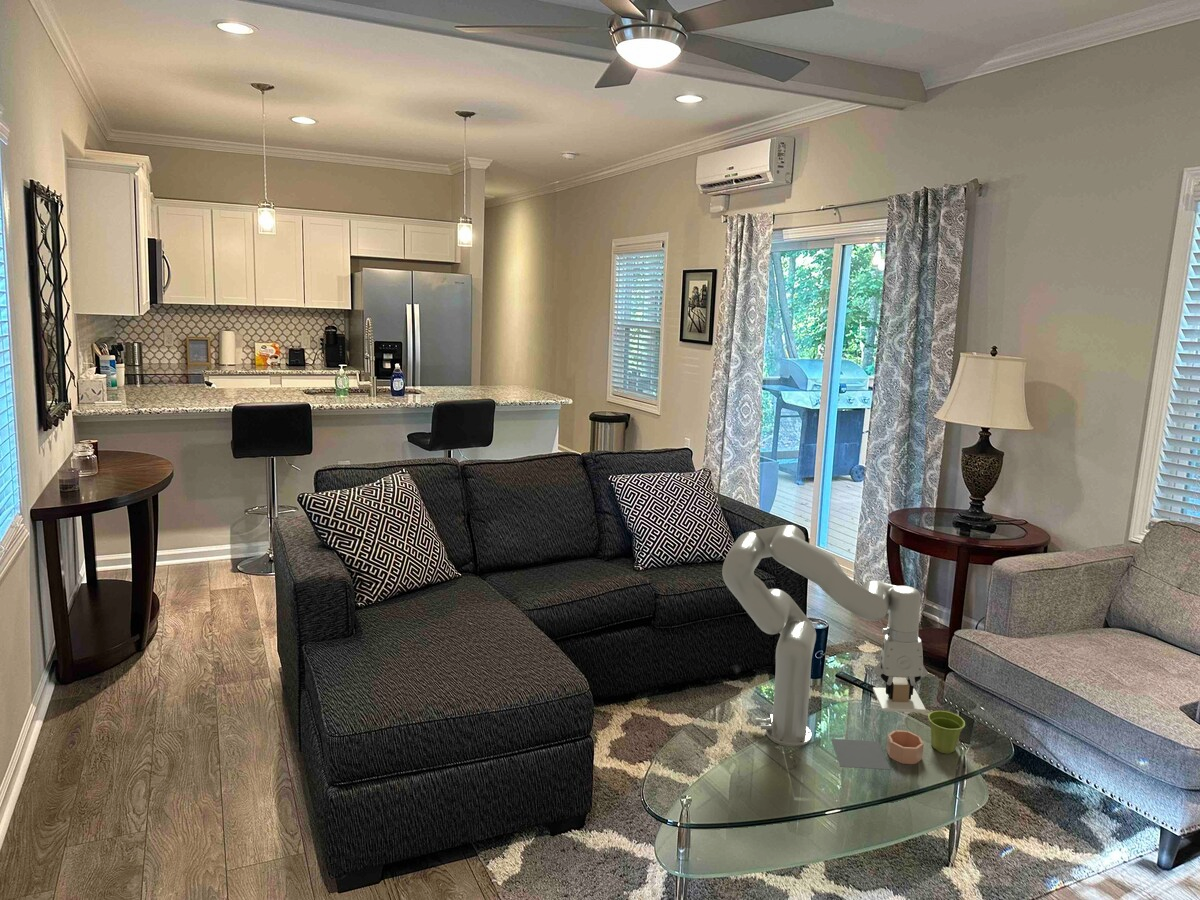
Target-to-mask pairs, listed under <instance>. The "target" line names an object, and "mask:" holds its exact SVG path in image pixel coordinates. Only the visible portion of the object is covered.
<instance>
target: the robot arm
mask: <svg viewBox="0 0 1200 900" xmlns="http://www.w3.org/2000/svg"><path fill="white" fill-rule="evenodd" d="M771 557H772V558H773V559H774V560H775V561H776V562H778V563H779V564H781V565H783V566H785V568H788V569H790V570H792V571H793V572H795V573H797V574H799V575H801V576H803V578H806V579H807V580H808V581H810V582H812V583H814V584H816V585H817V586H818V587H819V588H820V589H821V590H822V591H823V592H824V593H825V594H827V595H828V596H829V597H830V598H831V600H832V601H834V602H836V604H837V605H840V606H841V607H842V608H844V609H845V610H847V611H848V612H851V613H852V614H854V615H855V616H857V617H858V618H861V619H863V620H866V621H868V622H869V621H870V622H878V621H880V620H883V619H884V618H885V617H886V615H887V614H888V623H887V626H886V627H885V628H882V630H881V631H882V632H881V633H882V634H885V635H884V638H883V642H882V647H881V652H880V660H879V662H877V664H876V665H875V667H874V668H873V669H872V672H873V673H874V674H875V675H876V676H878V677H880V679H882V681H884V682H885V688H886V694H888V696H889V698H890V699H892V698H893V685H892V681H893V677H902V678H907V681H908V683H909V685H910V687H909V700H911V695H913V688H914V686H916V683H918V682H919V681H920V680H921V679H922V678H925V677H926V676H928V675H929V672H928V670H927V669H926V668H925V666H924V656H923V653H924V652H923V643H922V639H921V638H920V637H919V628H920V627H919V626H920V612H921V593H920V590H918V589H917V588H916V587H913V586H908V585H895V584H890V583H887V582H885V581H884V582H883V581H881V580H868V581H866V582H864V583H863V584H862V585H859V584H858V583H857V582H855V581H853V580H852V579H851V578H850V577H849V576H848V574H846V573H845V572H844V570H843V569H842V567H841V566H840V564H839V561H837V559H836V558H835V557H833V555H831V554H829V553H827V552H826V551H824V550H822V549H819V548H817V546H815V545H812V544H811V543H809V542H808V541H806V537H805V534H804V532H803V531H802V530H801V529H800V528H799V527H798V526H797V525H796V526H795V525H793V524H783V525H777V526H772V527H767V528H766V527H765V528H760V529H754V530H750V531H746V532H744V533H742V534H741V535H739V536H738V538H736V540H735V541H734V543H733V544H732V546H731V548H730V549H729V550H728V553H727V554H726V557H725V559H724V561H723V565H722V569H721V572H722V573H721V574H722V579H723V582H724V583H725V585H726V587H727V589H728V590H729V591H730V592H731V593H732V595H733V596H734V597H735V598H736V599H737V600H738V602H739V603H740V605H741V607H742V608H743V610H745V611H746V613H747V614H748V616H749V617H750V618H751V619H752V621H754V623H755V624H756V626H757V627H758V628H759V629H760V630H761V631H762V632H763V633H765V634H767V635H777V634H780V635H779V638H778V641H777V644H776V648H775V673H774V674H775V675H774V676H775V677H774V690H773V702H772V703H773V705H772V713H771V714H770V716H769V717H766V718H759V717H756V718H755V720H754V723H755V726H760V730H765V733H766V736H767V738H768V739H770V740H771V741H772V742H774V744H777V745H780V746H784V747H785V746H786V747H801V746H805V745H808V744H809V743H810V742H811V741H812V735H813V734H812V731H811V729H810V728H809V727H808V717H809V716H808V715H809V704H810V703H809V702H810V689H811V675H812V673H811V672H812V671H811V670H812V659H813V654H814V648H815V644H816V641H817V632H816V628H815V627H814V625H813V623H812V621H810V619H809V618H808V617H807V616H806V614H805V613H804V612H803V610H802V609H801V608H800V607H799V605H798V604H797V603H796V602H795V600H794V599H793V598H792V597H791V596H790V595H789V594H788V593H787V592H786V591H784V590H782V589H779V588H768V587H767V586H766V584H765V583H764V582H763V581H762V580H761V579H760V578H759V577H758V576H757V575H755V573H754V572H755V569H756V568H757V567H758V565H759V564H760V562H761V560H762V559H765V558H771Z"/></svg>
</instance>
